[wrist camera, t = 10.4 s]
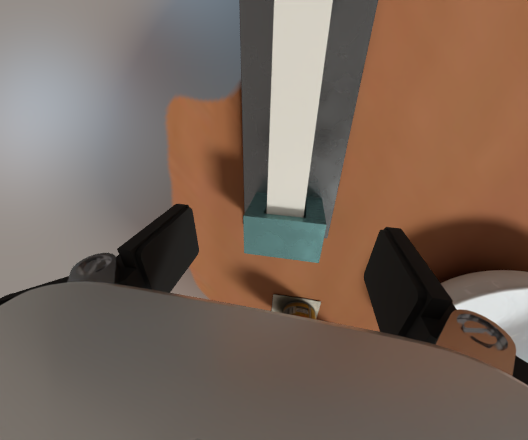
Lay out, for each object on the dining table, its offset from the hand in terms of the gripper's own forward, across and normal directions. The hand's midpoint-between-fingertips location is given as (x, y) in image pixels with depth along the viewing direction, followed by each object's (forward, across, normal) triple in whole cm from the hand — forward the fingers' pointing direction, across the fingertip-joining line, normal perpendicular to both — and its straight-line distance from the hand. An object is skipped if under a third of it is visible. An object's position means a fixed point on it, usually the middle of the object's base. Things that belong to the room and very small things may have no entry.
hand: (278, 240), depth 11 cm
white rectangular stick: (+16, +1, -5) cm, 17 cm away
